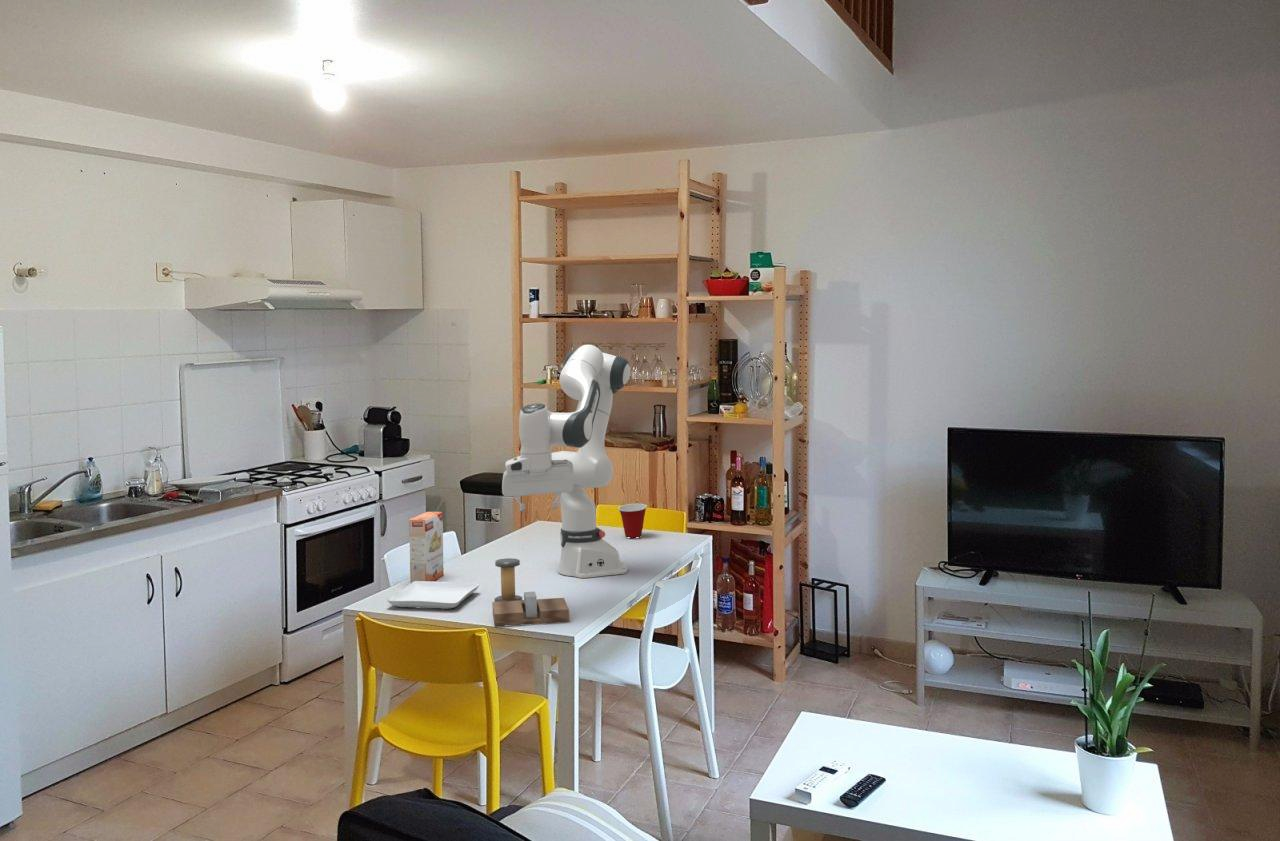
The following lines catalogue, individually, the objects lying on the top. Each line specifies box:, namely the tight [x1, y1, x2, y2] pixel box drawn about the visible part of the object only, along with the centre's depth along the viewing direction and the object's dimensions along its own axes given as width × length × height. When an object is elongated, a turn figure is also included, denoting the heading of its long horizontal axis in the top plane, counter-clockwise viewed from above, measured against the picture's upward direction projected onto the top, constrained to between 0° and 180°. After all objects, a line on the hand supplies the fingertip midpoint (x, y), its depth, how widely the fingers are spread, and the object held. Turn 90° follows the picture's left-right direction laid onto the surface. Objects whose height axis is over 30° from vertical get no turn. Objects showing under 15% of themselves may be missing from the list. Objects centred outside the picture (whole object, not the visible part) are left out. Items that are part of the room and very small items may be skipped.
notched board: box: [491, 597, 570, 628], centre depth 284 cm, size 20×12×4 cm, turn 101°
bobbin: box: [494, 557, 523, 602], centre depth 298 cm, size 8×8×12 cm
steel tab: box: [523, 591, 538, 619], centre depth 283 cm, size 3×5×6 cm, turn 11°
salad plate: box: [386, 580, 480, 610], centre depth 303 cm, size 21×21×3 cm
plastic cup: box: [617, 503, 648, 538], centre depth 386 cm, size 11×11×12 cm
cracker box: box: [408, 511, 445, 584], centre depth 326 cm, size 14×6×21 cm, turn 168°
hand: (539, 509), depth 295 cm, fingers open, 8 cm apart
